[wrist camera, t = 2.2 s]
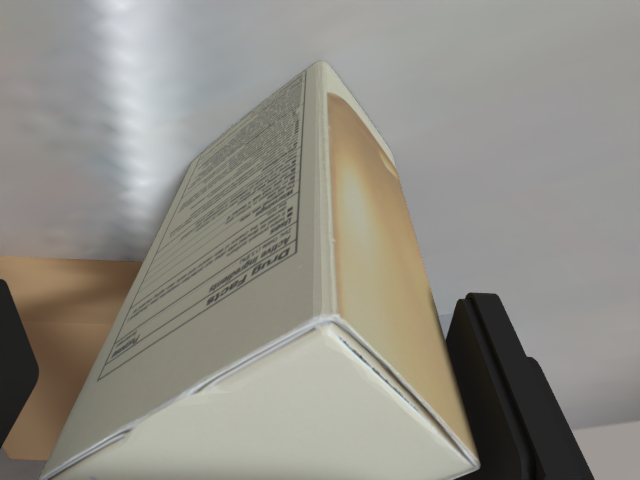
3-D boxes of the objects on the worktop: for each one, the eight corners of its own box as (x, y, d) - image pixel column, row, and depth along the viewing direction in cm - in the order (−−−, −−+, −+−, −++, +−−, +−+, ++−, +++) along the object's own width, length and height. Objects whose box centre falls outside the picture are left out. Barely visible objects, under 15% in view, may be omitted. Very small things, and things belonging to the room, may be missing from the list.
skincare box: (266, 237, 20) (205, 583, 10) (188, 159, 18) (15, 492, 8) (403, 148, 18) (498, 483, 8) (329, 47, 16) (330, 320, 6)
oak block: (204, 259, 21) (181, 327, 18) (220, 394, 26) (204, 466, 23) (-9, 251, 21) (-71, 317, 18) (49, 388, 26) (9, 459, 23)
